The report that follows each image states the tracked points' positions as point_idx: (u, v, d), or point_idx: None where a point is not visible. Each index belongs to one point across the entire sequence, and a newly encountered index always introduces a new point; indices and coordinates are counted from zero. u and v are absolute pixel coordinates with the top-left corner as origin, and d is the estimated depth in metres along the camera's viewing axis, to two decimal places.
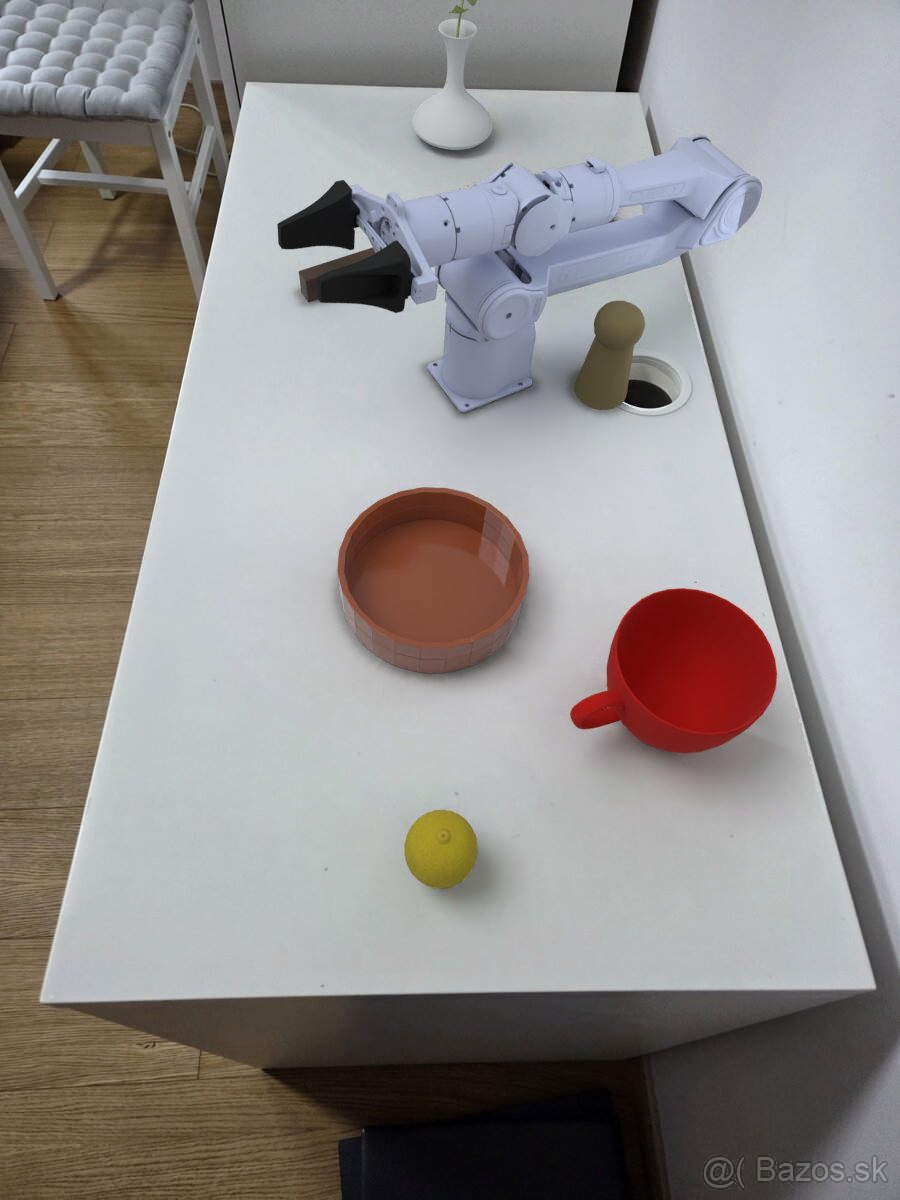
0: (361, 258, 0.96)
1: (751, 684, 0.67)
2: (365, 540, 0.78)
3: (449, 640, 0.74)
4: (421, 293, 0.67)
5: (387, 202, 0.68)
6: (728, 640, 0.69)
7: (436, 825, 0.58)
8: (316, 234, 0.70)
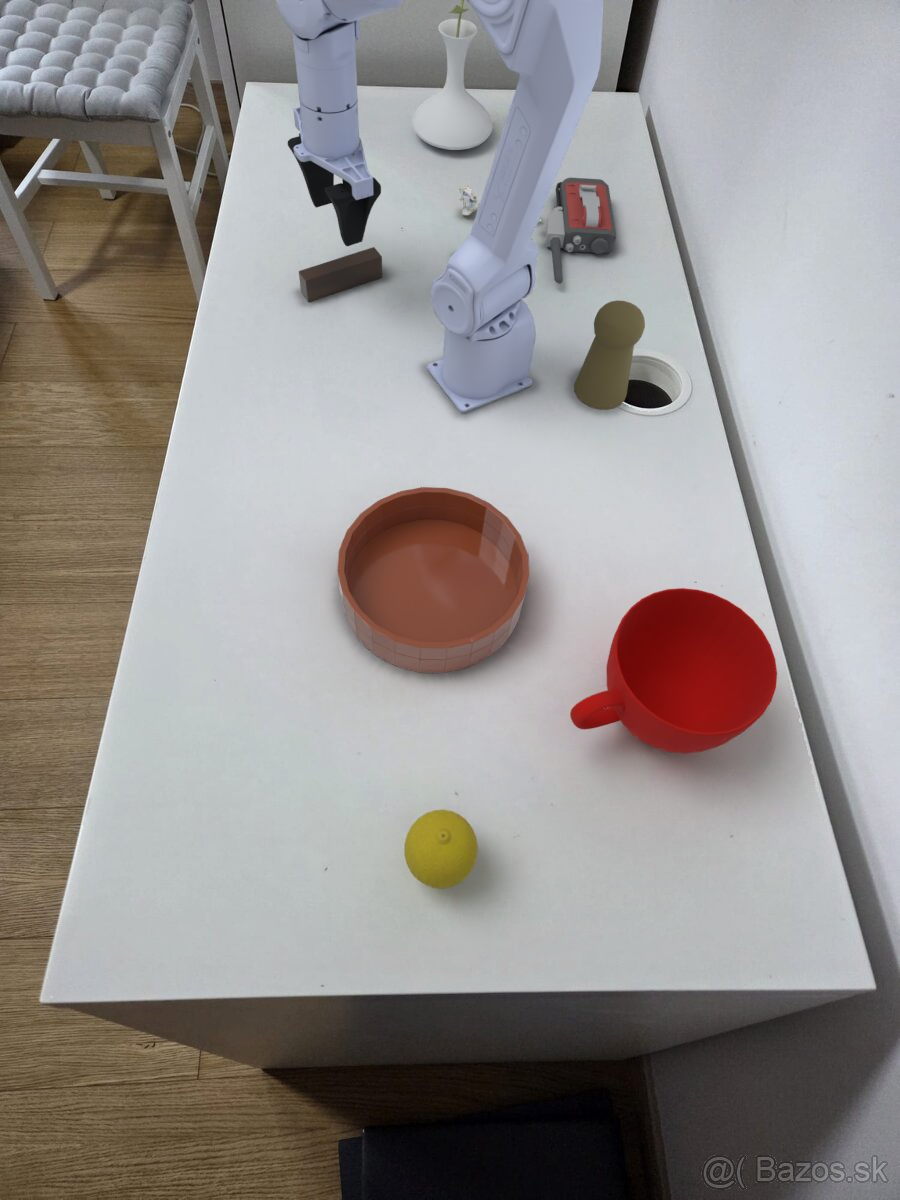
0: (361, 258, 0.96)
1: (751, 684, 0.67)
2: (365, 540, 0.78)
3: (449, 640, 0.74)
4: (364, 194, 0.82)
5: None
6: (728, 640, 0.69)
7: (436, 825, 0.58)
8: (324, 175, 0.90)
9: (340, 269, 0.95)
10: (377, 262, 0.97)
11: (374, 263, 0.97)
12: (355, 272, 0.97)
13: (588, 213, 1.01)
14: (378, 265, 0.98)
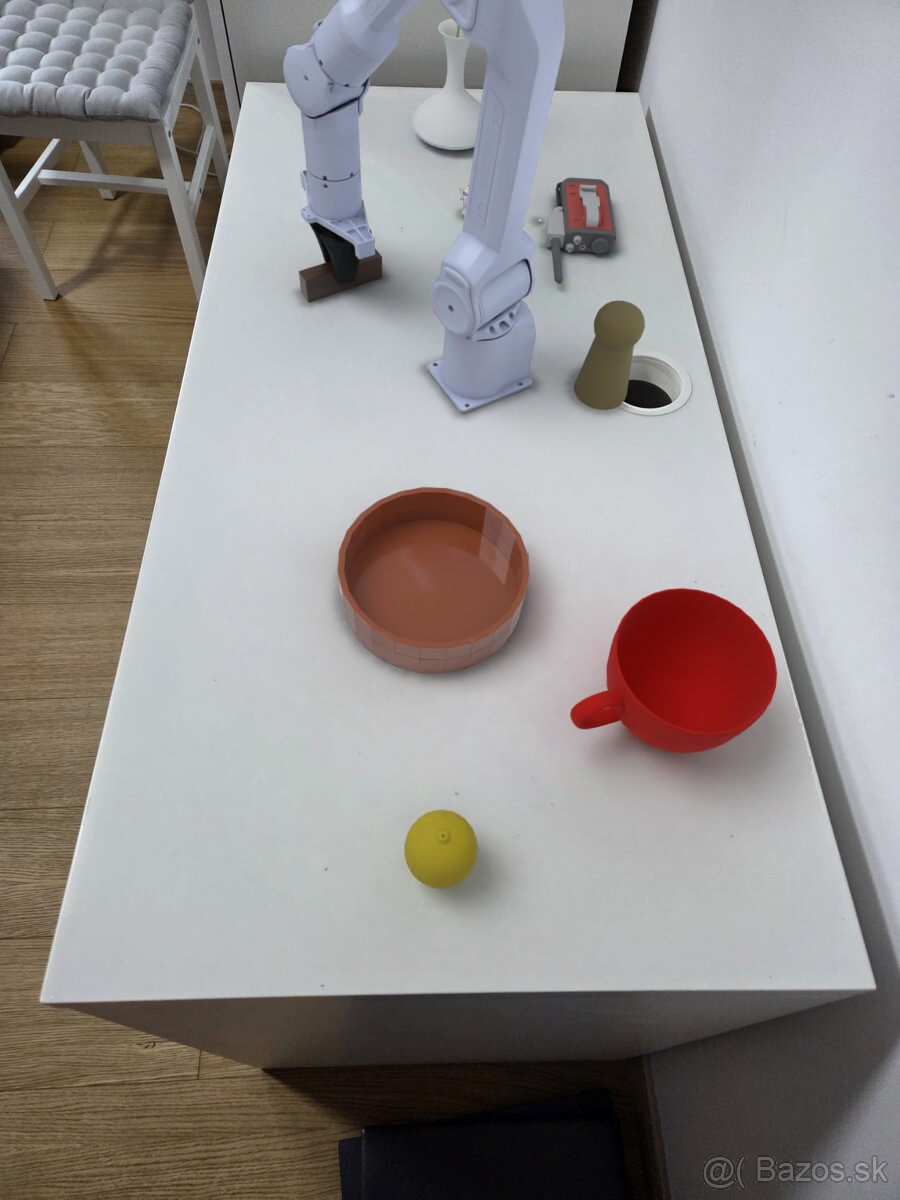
0: None
1: (751, 684, 0.67)
2: (365, 540, 0.78)
3: (449, 640, 0.74)
4: (366, 254, 0.88)
5: None
6: (728, 640, 0.69)
7: (436, 825, 0.58)
8: None
9: None
10: (377, 262, 0.97)
11: (374, 263, 0.97)
12: None
13: (588, 213, 1.01)
14: (378, 265, 0.98)
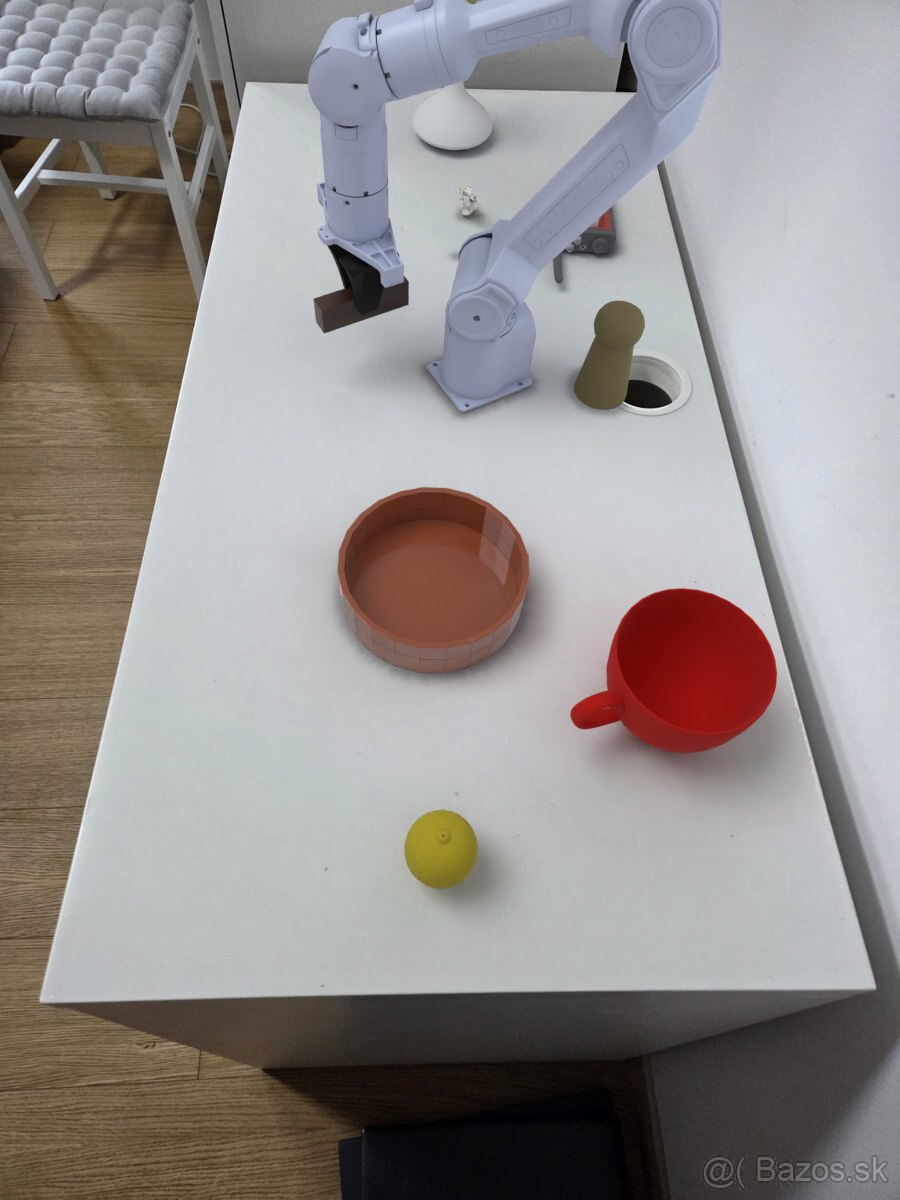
0: None
1: (751, 684, 0.67)
2: (365, 540, 0.78)
3: (449, 640, 0.74)
4: (394, 282, 0.75)
5: None
6: (728, 640, 0.69)
7: (436, 825, 0.58)
8: None
9: None
10: (403, 288, 0.85)
11: (399, 289, 0.85)
12: None
13: None
14: (404, 292, 0.85)
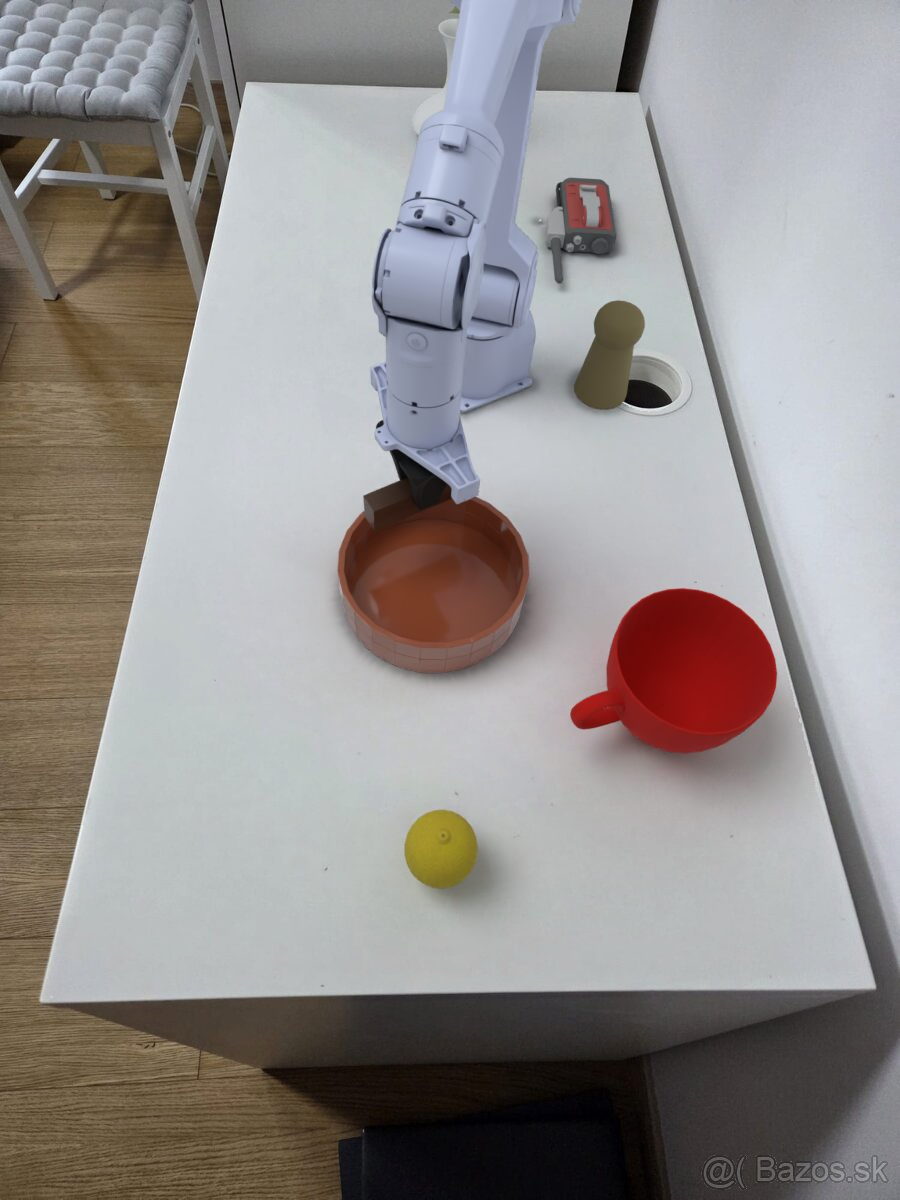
0: None
1: (751, 684, 0.67)
2: (365, 540, 0.78)
3: (449, 640, 0.74)
4: (467, 497, 0.63)
5: None
6: (728, 640, 0.69)
7: (436, 825, 0.58)
8: None
9: None
10: None
11: None
12: None
13: (589, 213, 1.01)
14: None
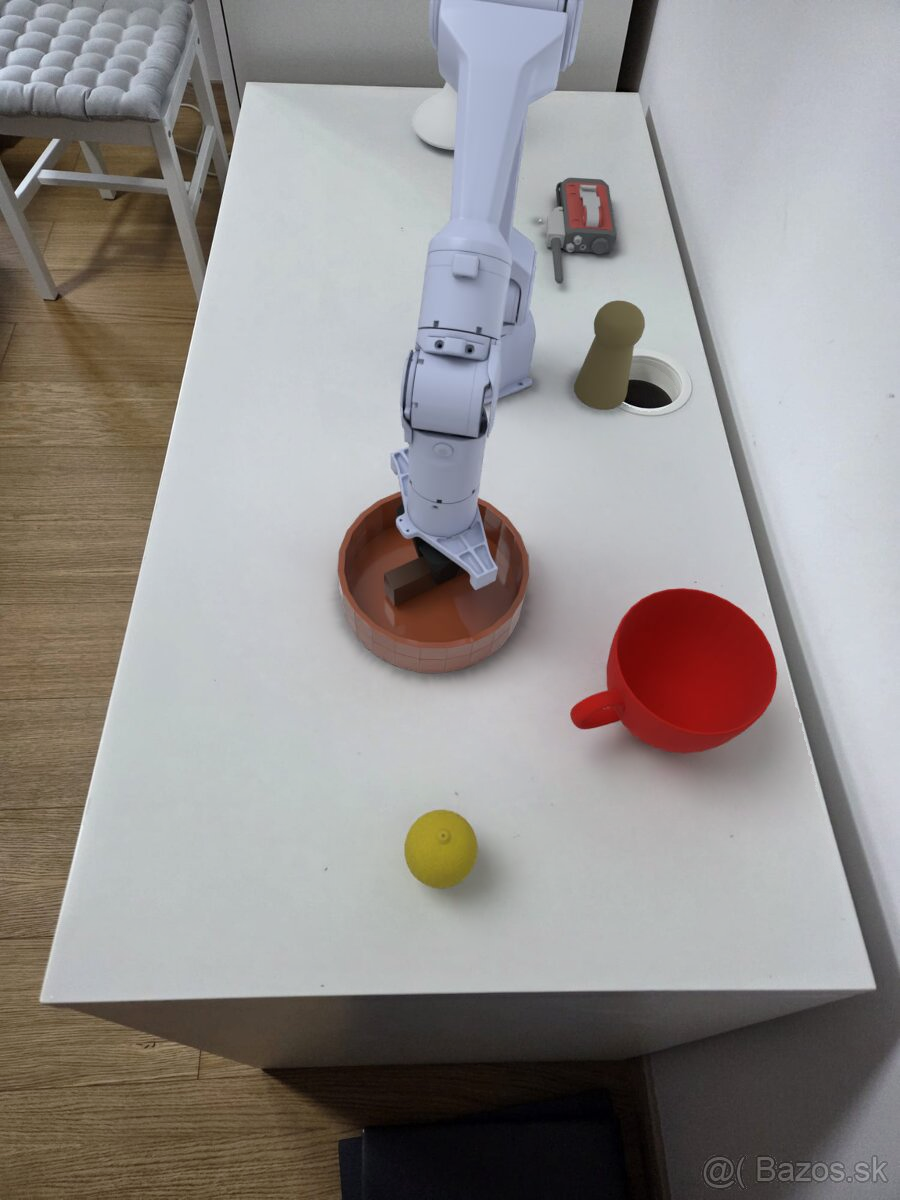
0: None
1: (751, 684, 0.67)
2: (365, 540, 0.78)
3: (449, 640, 0.74)
4: (485, 583, 0.66)
5: None
6: (728, 640, 0.69)
7: (436, 825, 0.58)
8: None
9: None
10: None
11: None
12: None
13: (589, 213, 1.01)
14: None
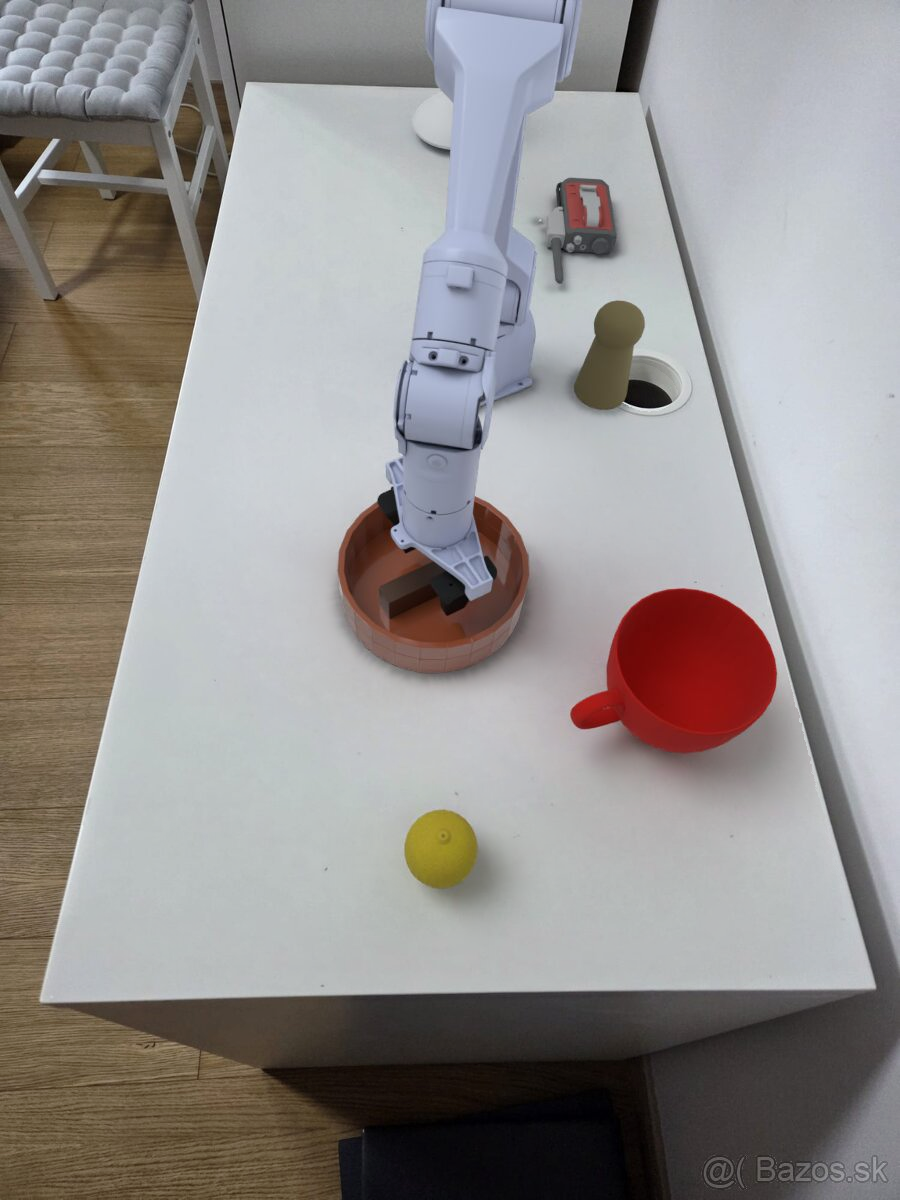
0: None
1: (751, 684, 0.67)
2: (365, 540, 0.78)
3: (449, 640, 0.74)
4: (480, 594, 0.65)
5: None
6: (728, 640, 0.69)
7: (436, 825, 0.58)
8: None
9: None
10: None
11: None
12: None
13: (589, 213, 1.01)
14: None
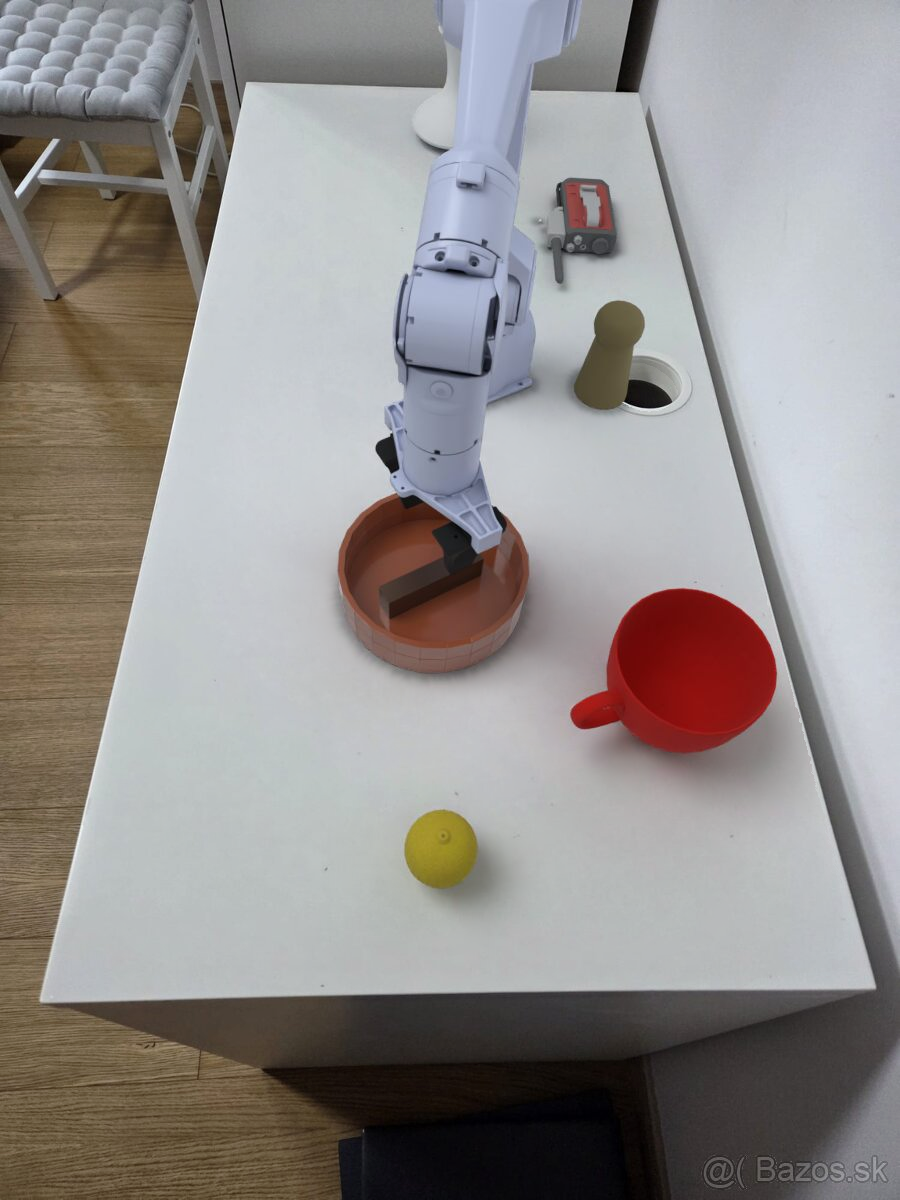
0: None
1: (751, 684, 0.67)
2: (365, 540, 0.78)
3: (449, 640, 0.74)
4: (488, 546, 0.59)
5: None
6: (728, 640, 0.69)
7: (436, 825, 0.58)
8: None
9: (432, 581, 0.73)
10: (477, 564, 0.75)
11: (473, 567, 0.75)
12: (450, 579, 0.75)
13: (589, 213, 1.01)
14: (478, 567, 0.76)
